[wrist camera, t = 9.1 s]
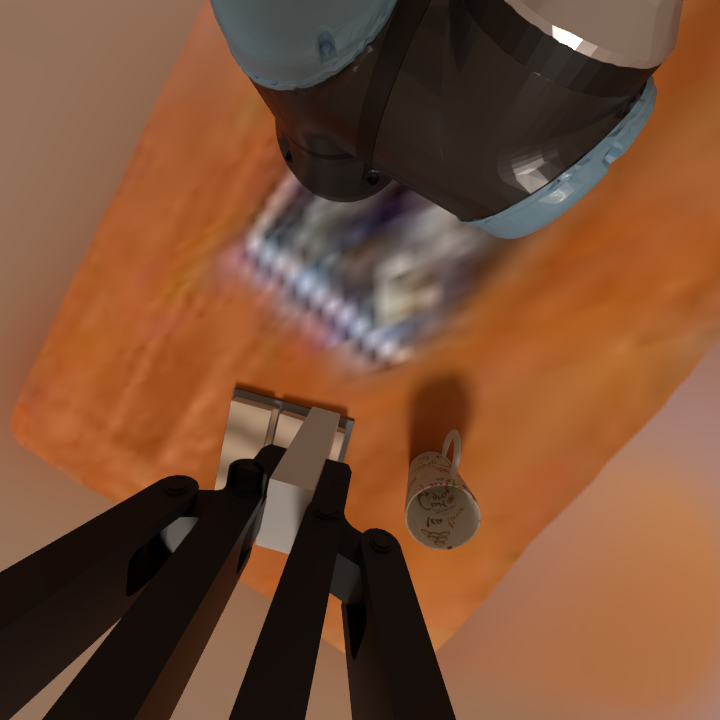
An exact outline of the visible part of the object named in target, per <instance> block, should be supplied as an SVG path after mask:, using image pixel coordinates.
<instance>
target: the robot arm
mask: <svg viewBox="0 0 720 720" xmlns="http://www.w3.org/2000/svg"><path fill="white" fill-rule="evenodd" d="M210 1H211V5H212V8H213V11H214V14H215V17H216V19H217V22H218V24H219V26H220V28H221V30H222V32H223V34H224V36H225V39H226V41H227V43H228V46H229V49H230V51H231V53H232V56H233V57H234V59H235V60H236V62H237V64H238V66H240V67H241V69H242V70H243V72H244V73H245V74H247V75H248V77H249V78H250V80H251V81H252V83H253V85H254V86H255V88H256V89H257V91H258V92H259V94H260V95H261V97H262V98H263V100H264V101H265V103H266V104H267V106H268V107H269V109H270V110H271V112H272V113H273V115H274V116H275V123H276V134H277V140H278V144H279V147H280V150H281V153H282V155H283V158H284V160H285V162H286V164H287V165H288V167H289V168H290V170H291V171H292V173H293V174H294V175H295V176H296V178H297V179H298V180H299V181H300V182H301V183H302V184H303V185H304V186H305V187H306V188H307V189H308V190H310V191H311V192H312V193H314V194H316V195H318V196H320V197H322V198H324V199H327V200H331V201H336V202H354V201H359V200H363V199H365V198H368V197H370V196H372V195H374V194H376V193H377V192H379V191H380V190H382V189H383V188H384V187H385V186H387V185H388V184H389V183H390V182H391V180H392V179H393V180H395V181H397V182H398V183H400V184H402V185H404V186H405V187H407V188H409V189H411V190H412V191H414V192H416V193H417V194H419V195H421V196H423V197H424V198H426V199H428V200H430V201H431V202H433V203H435V204H436V205H438V206H440V207H442V208H443V209H445V210H447V211H449V212H450V213H452V214H454V215H455V216H457V218H458V220H459V221H461V222H462V223H464V224H468V225H474V226H476V227H478V228H480V229H482V230H484V231H486V232H488V233H490V234H492V235H494V236H496V237H499V238H506V239H509V238H512V239H513V238H519V237H523V236H526V235H528V234H531V233H533V232H535V231H537V230H539V229H541V228H543V227H544V226H546V225H547V224H549V223H550V222H552V221H553V220H555V219H556V218H558V217H559V216H560V215H562V214H563V213H564V212H566V211H567V210H568V209H569V208H571V207H572V206H573V205H574V204H575V203H577V202H578V201H579V200H580V199H581V198H582V197H583V196H585V195H586V194H587V193H588V192H589V191H590V190H591V189H592V188H593V187H594V186H595V185H596V184H597V183H598V182H599V181H600V180H601V179H602V178H603V177H604V176H605V175H606V173H607V172H608V167H609V165H610V163H612V162H613V161H614V160H616V159H617V158H618V157H620V156H621V155H622V154H624V153H625V152H626V151H627V149H628V148H629V147H630V145H631V144H632V143H633V142H634V140H635V139H636V138H637V136H638V135H639V134H640V132H641V131H642V129H643V127H644V126H645V124H646V122H647V121H648V119H649V117H650V115H651V113H652V111H653V108H654V105H655V100H656V95H657V89H656V86H655V85H654V79H653V77H652V76H651V75H652V74H653V73H654V72H655V71H656V70H657V69H658V68H659V66H660V65H661V64H662V63H663V62H664V61H665V60H666V59H667V57H668V56H669V55H670V54H671V53H672V52H673V50H674V49H675V46H676V42H677V36H678V29H679V23H680V16H681V10H682V3H683V0H210ZM340 415H341V414H339V413H336V412H332V411H328V410H325V409H321V408H317V407H314V406H313V407H312V409H311V410H310V412H309V414H308V415H307V417H306V419H305V420H304V422H303V424H302V425H301V427H300V429H299V430H298V432H297V434H296V435H295V437H294V439H293V440H292V442H291V444H290V446H289V447H288V449H287V448H284V447H280V446H276V445H273V444H269V445H267V446H265V447H263V448H261V450H260V451H259V452H258V454H257V455H256V456H255V458H254V459H250V458H245V459H238V460H235V461H233V462H232V463H231V464H229V470H228V475H227V481H226V486H225V487H224V488H223V489H220V490H198V489H199V485H198V483H197V481H196V480H194V479H193V478H191V477H188V476H183V475H175V476H169V477H166V478H164V479H161V480H159V481H158V482H156V483H154V484H152V485H151V486H149V487H147V488H145V489H144V490H142V491H140V492H138V493H137V494H135V495H133V496H132V497H130V498H128V499H126V500H125V501H123V502H121V503H119V504H118V505H116V506H114V507H113V508H111V509H109V510H107V511H106V512H104V513H102V514H100V515H99V516H97V517H95V518H93V519H92V520H90V521H88V522H87V523H85V524H83V525H81V526H80V527H78V528H76V529H74V530H73V531H71V532H70V533H68V534H66V535H64V536H62V537H61V538H59V539H57V540H55V541H54V542H52V543H51V544H48V545H47V546H45V547H43V548H42V549H40V550H38V551H36V552H35V553H33V554H31V555H29V556H28V557H26V558H24V559H23V560H21V561H19V562H18V563H16V564H14V565H12V566H10V567H9V568H7V569H5V570H4V571H2V572H0V720H9V719H10V718H11V717H12V716H13V715H15V714H16V713H17V712H18V711H19V710H20V709H21V708H22V707H23V706H24V705H26V704H27V703H28V702H29V701H30V700H31V699H32V698H33V697H34V696H36V695H37V694H38V693H39V692H40V691H41V690H42V689H43V688H44V687H46V686H47V685H48V684H49V683H50V682H51V681H52V680H53V679H54V678H55V677H57V676H58V675H59V674H60V673H61V672H62V671H63V670H64V669H65V668H66V667H67V666H69V665H70V664H71V663H72V662H73V661H74V660H75V659H76V658H77V657H79V656H80V655H81V654H82V653H83V652H84V651H85V650H86V649H87V648H88V647H90V646H91V645H92V644H93V643H94V642H95V641H96V640H97V639H98V638H99V637H101V636H102V635H103V634H104V633H105V632H106V631H107V630H108V629H109V628H111V626H112V625H114V624H115V623H116V622H117V621H118V620H119V619H121V620H120V621H119V622H118V624H117V625H116V626H115V627H114V628H113V630H112V631H111V632H110V634H109V635H108V636H107V637H106V639H105V640H104V641H103V642H102V644H101V645H100V646H99V648H98V649H97V650H96V651H95V653H94V654H93V655H92V657H91V658H90V659H89V660H88V662H87V663H86V664H85V665H84V667H83V668H82V669H81V671H80V672H79V673H78V674H77V676H76V677H75V678H74V679H73V681H72V682H71V683H70V685H69V686H68V687H67V688H66V690H65V691H64V692H63V694H62V695H61V696H60V697H59V699H58V700H57V701H56V703H55V704H54V705H53V706H52V708H51V709H50V710H49V711H48V713H47V714H46V715H45V717H44V718H43V719H42V720H169V719H170V717H171V715H172V713H173V711H174V709H175V707H176V705H177V703H178V701H179V699H180V697H181V695H182V693H183V691H184V689H185V687H186V685H187V682H188V681H189V679H190V677H191V675H192V673H193V671H194V669H195V667H196V665H197V663H198V661H199V658H200V657H201V655H202V653H203V651H204V649H205V647H206V645H207V643H208V640H209V639H210V637H211V635H212V633H213V630H214V628H215V626H216V624H217V622H218V620H219V618H220V616H221V614H222V612H223V610H224V608H225V606H226V604H227V602H228V600H229V598H230V596H231V594H232V592H233V590H234V588H235V586H236V584H237V582H238V580H239V578H240V576H241V574H242V572H243V570H244V568H245V566H246V564H247V562H248V560H249V558H250V554H251V550H252V545H253V543H254V541H255V539H256V537H257V541H256V545H258V546H262V547H265V548H269V549H272V550H276V551H280V552H283V553H287V554H289V556H288V559H287V562H286V565H285V567H284V570H283V573H282V576H281V578H280V581H279V584H278V586H277V589H276V592H275V595H274V597H273V600H272V603H271V606H270V609H269V611H268V614H267V617H266V619H265V622H264V625H263V628H262V630H261V633H260V636H259V638H258V641H257V644H256V646H255V649H254V652H253V655H252V657H251V660H250V663H249V666H248V668H247V671H246V674H245V677H244V680H243V682H242V685H241V688H240V690H239V693H238V696H237V698H236V701H235V704H234V707H233V709H232V712H231V715H230V717H229V720H305V716H306V711H307V705H308V700H309V695H310V689H311V685H312V680H313V675H314V670H315V664H316V659H317V654H318V649H319V643H320V639H321V634H322V628H323V623H324V618H325V613H326V608H327V603H328V597H329V593H331V594H332V595H334V596H335V597H337V598H338V599H340V600H341V601H342V604H341V608H342V618H343V629H344V639H345V649H346V660H347V670H348V679H349V691H350V701H351V711H352V720H456V718H455V715H454V712H453V709H452V706H451V703H450V700H449V696H448V693H447V690H446V687H445V684H444V681H443V678H442V674H441V671H440V668H439V665H438V662H437V659H436V656H435V653H434V649H433V646H432V643H431V640H430V637H429V634H428V631H427V628H426V624H425V621H424V618H423V615H422V612H421V609H420V606H419V603H418V600H417V596H416V593H415V590H414V587H413V584H412V581H411V578H410V575H409V571H408V568H407V565H406V562H405V559H404V556H403V553H402V550H401V546H400V544H399V542H398V541H397V539H396V538H395V537H394V536H393V535H392V534H390V533H388V532H387V531H385V530H382V529H378V528H374V529H368V530H366V531H364V533H361V532H360V531H358V530H356V529H355V528H354V527H352V526H351V525H350V524H349V523H348V521H347V520H346V518H345V515H344V509H345V504H346V499H347V494H348V488H349V483H350V478H351V473H352V472H351V470H350V467H349V465H348V464H345V463H341V462H338V461H334V460H330V459H329V458H330V454H331V450H332V446H333V442H334V439H335V435H336V431H337V427H338V423H339V419H340ZM257 535H258V536H257Z"/></svg>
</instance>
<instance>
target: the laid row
mask: <svg viewBox="0 0 720 720" xmlns="http://www.w3.org/2000/svg"><path fill="white" fill-rule="evenodd" d="M283 410H286V411H289V412H292V413H295V414H299V415H302V416H305V417H307V415H308V414H309V412H310V410H311V409H310V408H306V407H303V406H299V405H295V404H292V403H288V402H285V401H281V400H277V399H274V398H270V397H266V396H263V395H259V394H256V393H252V392H248V391H245V390H241V389H238V388H235V389H234V394H233V399H232V400H231V405H230V410H229V415H228V421H227V426H226V431H225V436H224V442H223V447H222V452H221V457H220V463H219V468H218V473H217V479H216V484H215V489H214V490H220V489H223V488H224V487H225V486H226V481H227V475H228V470H229V464H231V463H232V462H233V461H235V460H238V459H245V458H250V459H254V458H255V456H256V455H257V454H258V452H259V451H260V450H261V448H263V447H265V446H267V445H269V444H273V442H274V437H275V433H276V429H277V424H278V420H279V415H280V413H281V412H282V411H283ZM353 425H354V421H353V420H349V419H346V418H342V417H340V419H339V423H338V427H340V428H344V429H347V430H346V434H345V437H344V441H343V445H342V448H341V452H340V455H339V459H338V462H341V463H343V460H344V457H345V453H346V450H347V446H348V442H349V439H350V435H351V432H352V428H353Z"/></svg>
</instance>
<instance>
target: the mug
mask: <svg viewBox="0 0 720 720" xmlns="http://www.w3.org/2000/svg"><path fill="white" fill-rule="evenodd" d="M452 439H453V442H454V455H453V460H452V463H451V462H450V460H449V459H448V458H447V457H446V454H447V451H448V448H449V446H450V443H451V441H452ZM460 457H461V439H460V435H459V432H458V431H457V430H456V429H452V430H451V431H450V432H449V433H448V435H447V436H446V438H445V440H444V444H443V449H442V454H441V453H438V452H434V451H428V452H424V453H421V454H419V455H418V456H416V457H415V458H414V459H413V461H412V462H411V465H410V468H409V475H408V485H407V494H406V504H405V522H406V525H407V528H408V530H409V532H410V533H411V535H412V536H413V537H414V538H415V539H416V540H417V541H418V542H419V543H421V544H423V545H425V546H427V547H430V548H433V549H439V550H447V549H453V548H457V547H459V546H462V545H463V544H465V543H467V542H468V541H469V540H470V539H471V538H472V537H473V536H474V535H475V534H476V532H477V530H478V528H479V525H480V521H481V513H480V508H479V505H478V502H477V501H476V499H475V497H474V495H473V494H472V492H471V491H470V490H469V488H468V487H467V485H466V484H465V482H464V481H463V479H462V478H461V476H460V475H459V473H458V472H457V470H458V467H459V463H460Z"/></svg>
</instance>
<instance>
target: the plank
mask: <svg viewBox="0 0 720 720" xmlns="http://www.w3.org/2000/svg"><path fill="white" fill-rule="evenodd" d="M305 419H306V417H305V416H302V415H299V414H295V413H292V412H289V411H286V410H283V411H282V412H281V413H280V415H279V420H278V424H277V429H276V433H275V437H274V442H273V445H276V446H280V447H284V448H287V449H288V447H289V446H290V444H291V442H292V440H293V439H294V437H295V435H296V434H297V432H298V430H299V429H300V427H301V425H302V424H303V422H304V420H305ZM346 430H347V429H344V428H340V427H337V431H336V435H335V439H334V442H333V446H332V450H331V454H330V458H329V459H330V460H334V461H338V459H339V455H340V452H341V448H342V445H343V441H344V437H345V434H346Z"/></svg>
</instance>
